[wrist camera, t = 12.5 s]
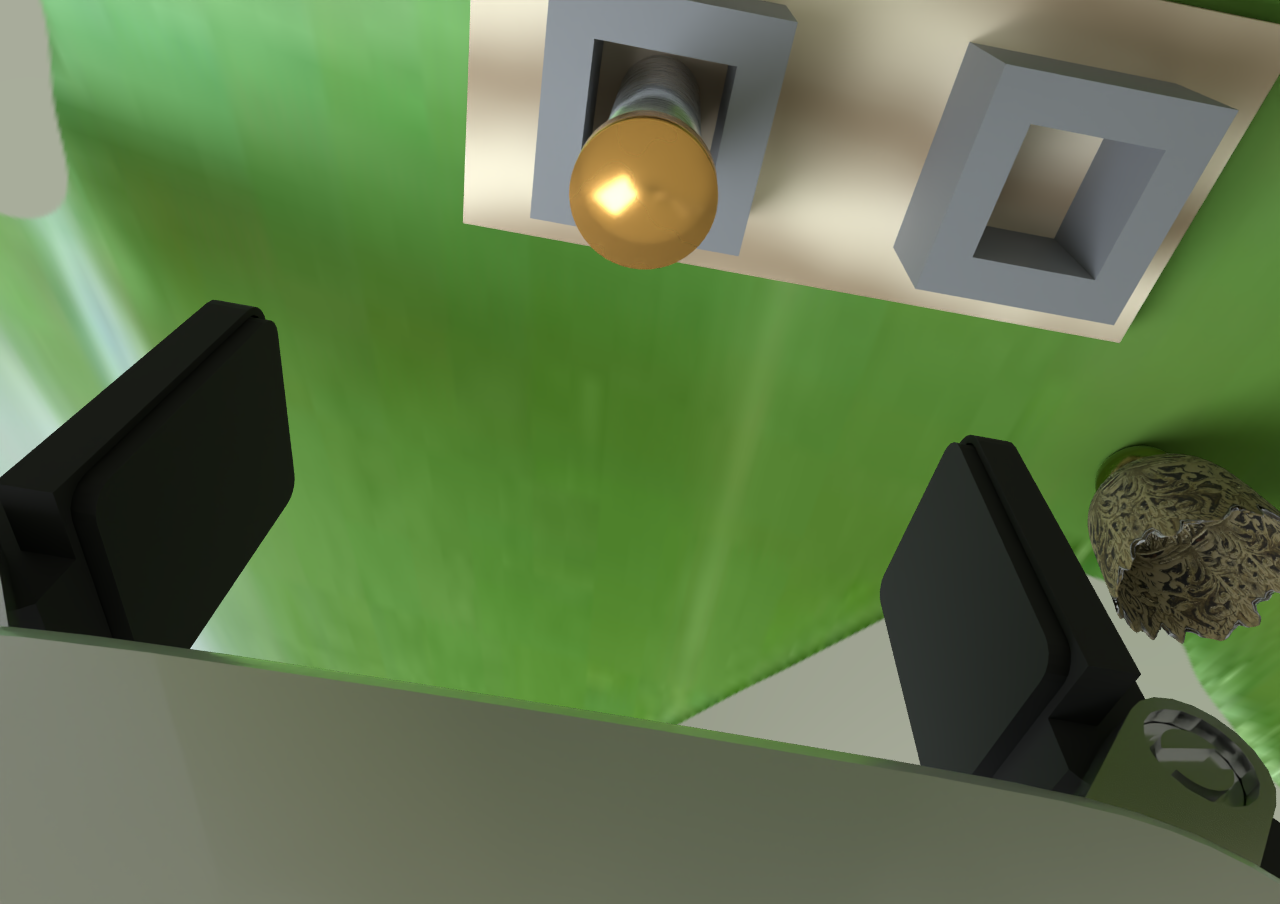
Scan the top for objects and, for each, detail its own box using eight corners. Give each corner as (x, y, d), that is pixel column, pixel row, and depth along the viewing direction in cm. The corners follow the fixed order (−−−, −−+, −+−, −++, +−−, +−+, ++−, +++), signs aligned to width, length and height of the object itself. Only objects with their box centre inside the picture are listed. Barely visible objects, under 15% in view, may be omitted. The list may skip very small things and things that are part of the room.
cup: (1121, 546, 42) (1199, 667, 36) (1017, 488, 40) (1078, 605, 34) (1247, 449, 38) (1360, 565, 32) (1137, 380, 36) (1233, 489, 30)
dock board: (1104, 326, 35) (1119, 342, 34) (471, 210, 33) (463, 222, 32) (1279, 23, 28) (1305, 30, 27) (485, -140, 26) (475, -141, 25)
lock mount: (1072, 280, 32) (1113, 325, 29) (892, 247, 32) (915, 288, 28) (1175, 83, 28) (1238, 110, 24) (969, 42, 27) (1005, 63, 24)
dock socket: (734, 217, 31) (738, 256, 28) (547, 182, 31) (529, 218, 28) (786, 5, 27) (797, 22, 24) (568, -39, 27) (550, -27, 23)
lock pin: (699, 162, 30) (700, 280, 21) (601, 143, 30) (561, 255, 21) (721, 53, 28) (733, 136, 19) (615, 33, 28) (578, 106, 19)
